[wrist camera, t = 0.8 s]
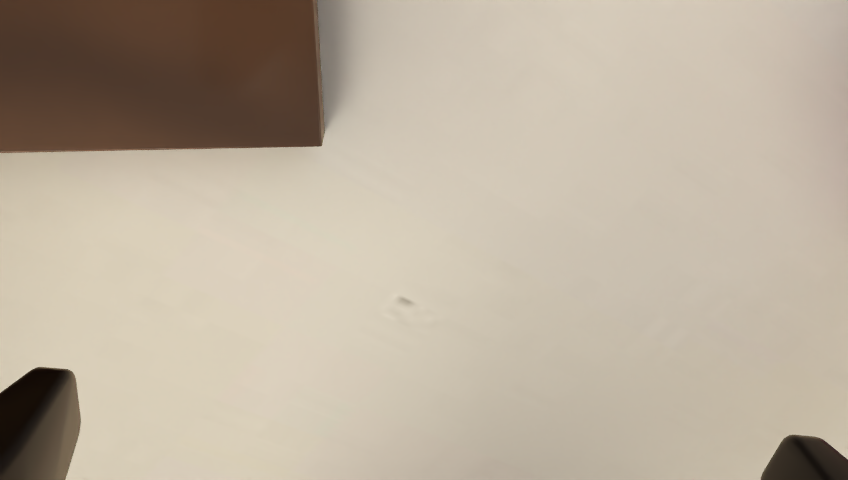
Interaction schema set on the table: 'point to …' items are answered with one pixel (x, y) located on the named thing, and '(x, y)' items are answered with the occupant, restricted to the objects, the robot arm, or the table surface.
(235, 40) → the wooden block stand
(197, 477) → the table surface
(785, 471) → the robot arm
